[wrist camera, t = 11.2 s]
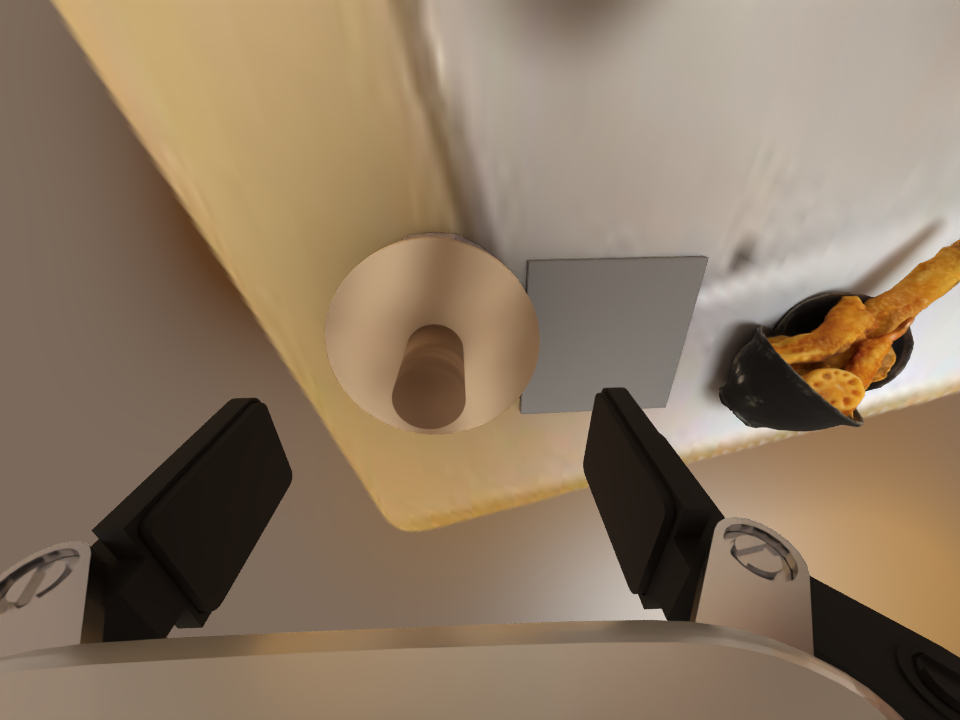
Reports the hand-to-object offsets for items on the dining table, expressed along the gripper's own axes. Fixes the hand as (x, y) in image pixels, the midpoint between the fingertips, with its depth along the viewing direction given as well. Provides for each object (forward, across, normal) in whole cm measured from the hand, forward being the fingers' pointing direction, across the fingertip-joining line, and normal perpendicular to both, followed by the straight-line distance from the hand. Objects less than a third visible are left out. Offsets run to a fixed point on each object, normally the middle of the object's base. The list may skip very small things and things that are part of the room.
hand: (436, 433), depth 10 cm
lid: (+10, +1, +2) cm, 11 cm away
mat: (+17, -12, +5) cm, 21 cm away
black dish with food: (+18, -29, +4) cm, 34 cm away
